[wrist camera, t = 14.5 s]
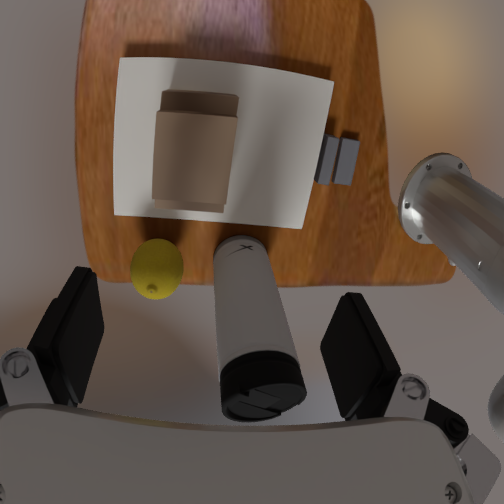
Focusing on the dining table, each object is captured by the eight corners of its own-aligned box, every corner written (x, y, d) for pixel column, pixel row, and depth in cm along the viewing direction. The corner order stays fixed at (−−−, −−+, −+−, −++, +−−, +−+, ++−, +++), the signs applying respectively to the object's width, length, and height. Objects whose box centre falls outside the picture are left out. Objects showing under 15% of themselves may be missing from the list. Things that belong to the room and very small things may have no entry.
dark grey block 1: (339, 138, 29) (328, 136, 29) (328, 185, 31) (317, 183, 31) (332, 135, 31) (321, 132, 30) (322, 178, 33) (312, 177, 33)
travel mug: (236, 221, 34) (263, 375, 17) (277, 254, 37) (327, 402, 20) (199, 259, 36) (199, 416, 19) (241, 287, 39) (265, 436, 22)
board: (329, 81, 27) (334, 81, 26) (298, 222, 35) (301, 229, 34) (124, 58, 24) (120, 57, 22) (117, 209, 32) (114, 215, 30)
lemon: (144, 220, 33) (128, 260, 26) (191, 234, 35) (188, 277, 28) (133, 260, 35) (119, 305, 29) (178, 273, 37) (172, 319, 30)
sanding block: (235, 94, 26) (240, 98, 21) (221, 194, 31) (224, 221, 26) (169, 89, 25) (158, 92, 20) (161, 190, 30) (151, 216, 25)
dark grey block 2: (343, 138, 30) (338, 136, 31) (334, 183, 32) (330, 179, 33) (360, 141, 30) (355, 139, 31) (350, 185, 33) (346, 181, 34)
